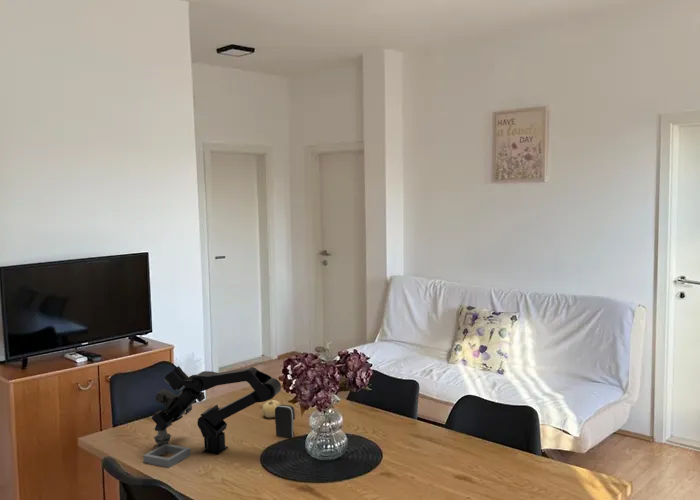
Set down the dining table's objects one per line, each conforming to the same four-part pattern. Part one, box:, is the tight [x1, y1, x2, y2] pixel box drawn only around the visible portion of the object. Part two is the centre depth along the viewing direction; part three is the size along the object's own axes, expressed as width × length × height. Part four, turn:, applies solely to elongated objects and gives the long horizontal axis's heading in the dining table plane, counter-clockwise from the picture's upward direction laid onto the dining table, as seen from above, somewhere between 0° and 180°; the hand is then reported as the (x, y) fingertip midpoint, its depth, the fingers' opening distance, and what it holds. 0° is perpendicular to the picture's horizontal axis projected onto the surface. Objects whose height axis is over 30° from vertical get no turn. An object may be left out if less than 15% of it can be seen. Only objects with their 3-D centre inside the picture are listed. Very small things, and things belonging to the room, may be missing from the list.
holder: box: [142, 443, 192, 469], centre depth 221 cm, size 11×11×2 cm
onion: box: [261, 399, 282, 418], centre depth 260 cm, size 8×8×7 cm
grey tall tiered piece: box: [153, 428, 172, 449], centre depth 232 cm, size 6×6×12 cm
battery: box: [274, 404, 296, 439], centre depth 239 cm, size 7×4×11 cm, turn 67°
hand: (158, 428), depth 232 cm, fingers closed on grey tall tiered piece, 3 cm apart
